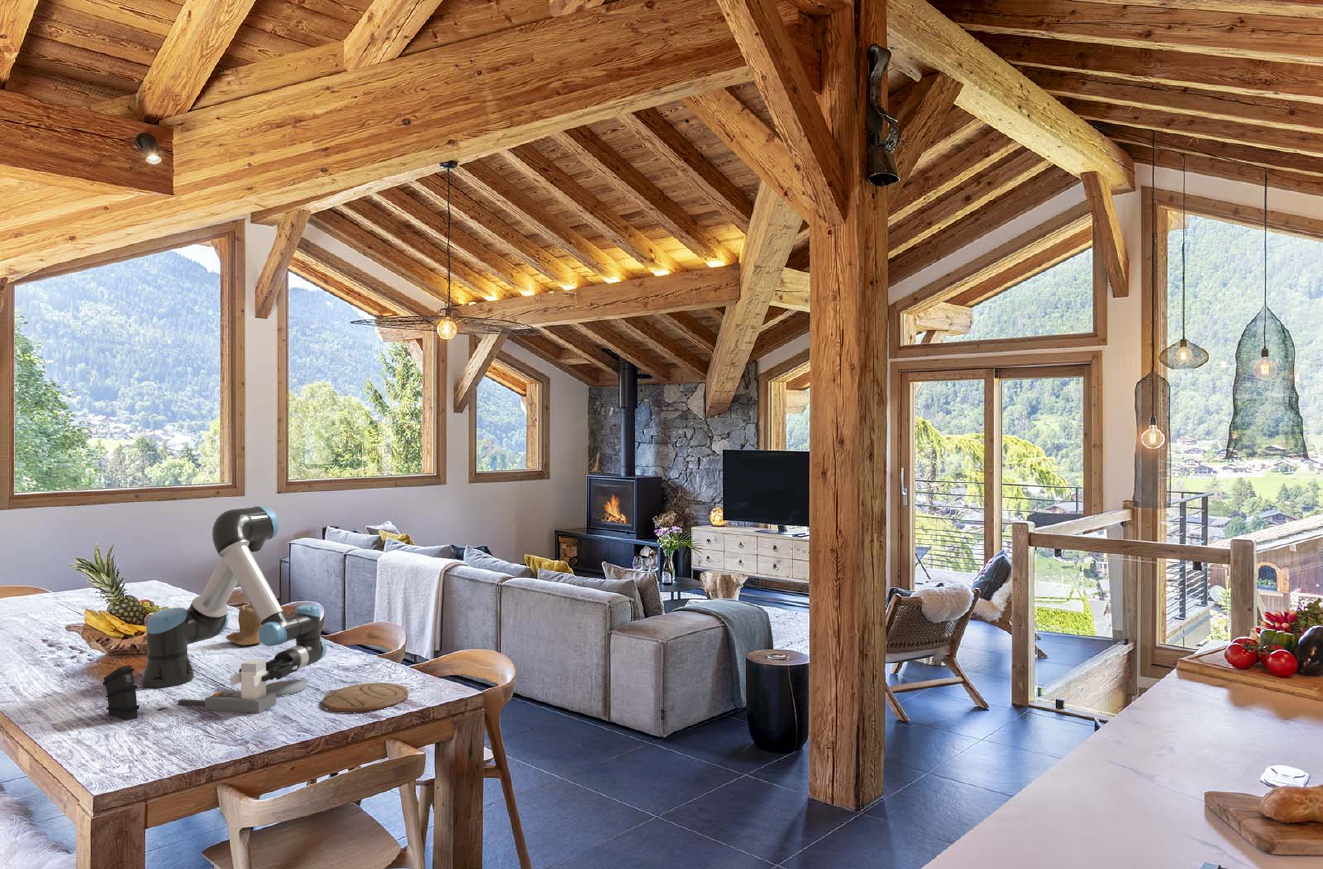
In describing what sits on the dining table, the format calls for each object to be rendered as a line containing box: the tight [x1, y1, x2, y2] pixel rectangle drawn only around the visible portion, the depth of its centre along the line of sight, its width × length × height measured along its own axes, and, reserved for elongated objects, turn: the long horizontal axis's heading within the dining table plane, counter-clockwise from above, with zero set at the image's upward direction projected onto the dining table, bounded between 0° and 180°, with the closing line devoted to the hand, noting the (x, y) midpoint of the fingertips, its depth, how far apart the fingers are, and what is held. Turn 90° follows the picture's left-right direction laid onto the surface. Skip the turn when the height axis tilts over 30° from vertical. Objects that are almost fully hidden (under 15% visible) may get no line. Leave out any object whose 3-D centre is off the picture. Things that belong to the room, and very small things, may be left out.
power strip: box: [178, 689, 277, 714], centre depth 259 cm, size 30×8×4 cm, turn 79°
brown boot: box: [225, 604, 262, 646], centre depth 337 cm, size 15×12×15 cm
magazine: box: [102, 664, 140, 721], centre depth 251 cm, size 4×13×15 cm, turn 58°
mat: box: [266, 680, 307, 697], centre depth 274 cm, size 14×14×1 cm
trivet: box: [322, 682, 409, 714], centre depth 264 cm, size 25×25×2 cm
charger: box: [240, 658, 267, 700], centre depth 257 cm, size 5×4×12 cm
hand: (242, 681), depth 252 cm, fingers open, 6 cm apart
